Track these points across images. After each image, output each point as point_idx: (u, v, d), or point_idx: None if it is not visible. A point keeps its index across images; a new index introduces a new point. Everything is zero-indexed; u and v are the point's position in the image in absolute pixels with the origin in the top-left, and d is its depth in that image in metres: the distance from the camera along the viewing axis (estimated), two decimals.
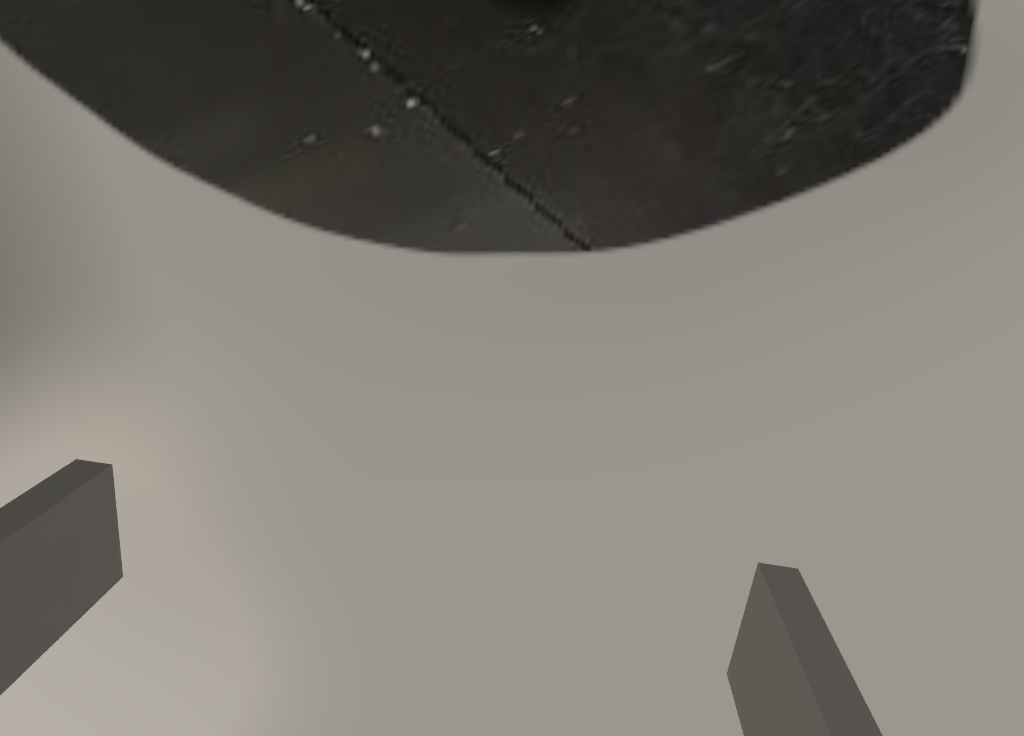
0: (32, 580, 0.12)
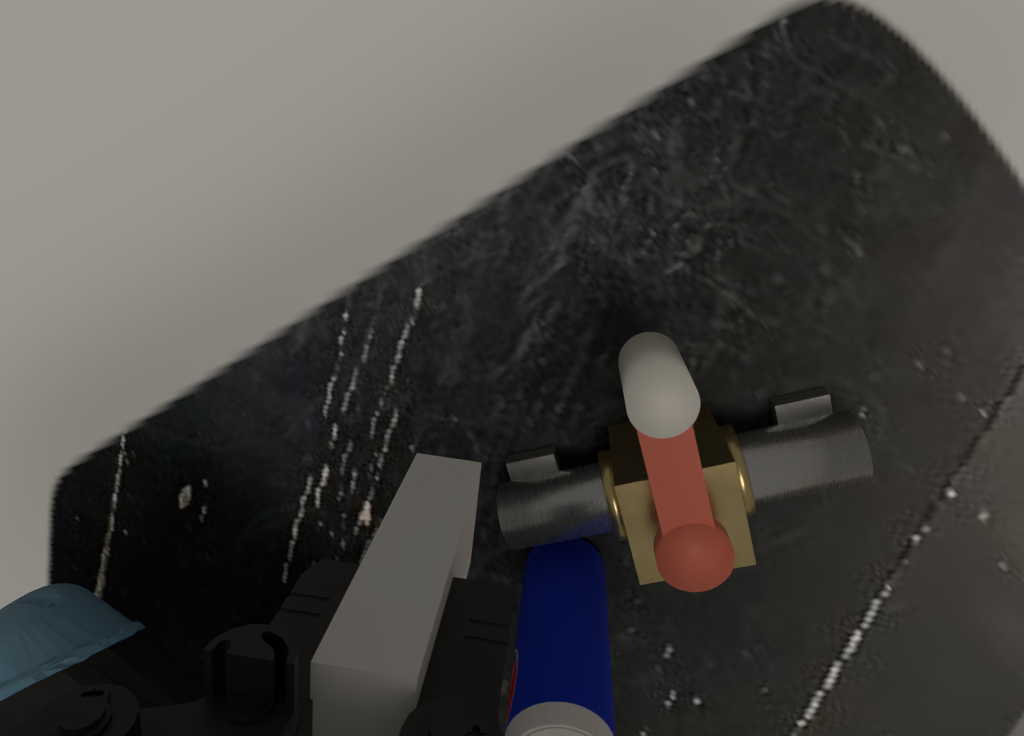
0: None
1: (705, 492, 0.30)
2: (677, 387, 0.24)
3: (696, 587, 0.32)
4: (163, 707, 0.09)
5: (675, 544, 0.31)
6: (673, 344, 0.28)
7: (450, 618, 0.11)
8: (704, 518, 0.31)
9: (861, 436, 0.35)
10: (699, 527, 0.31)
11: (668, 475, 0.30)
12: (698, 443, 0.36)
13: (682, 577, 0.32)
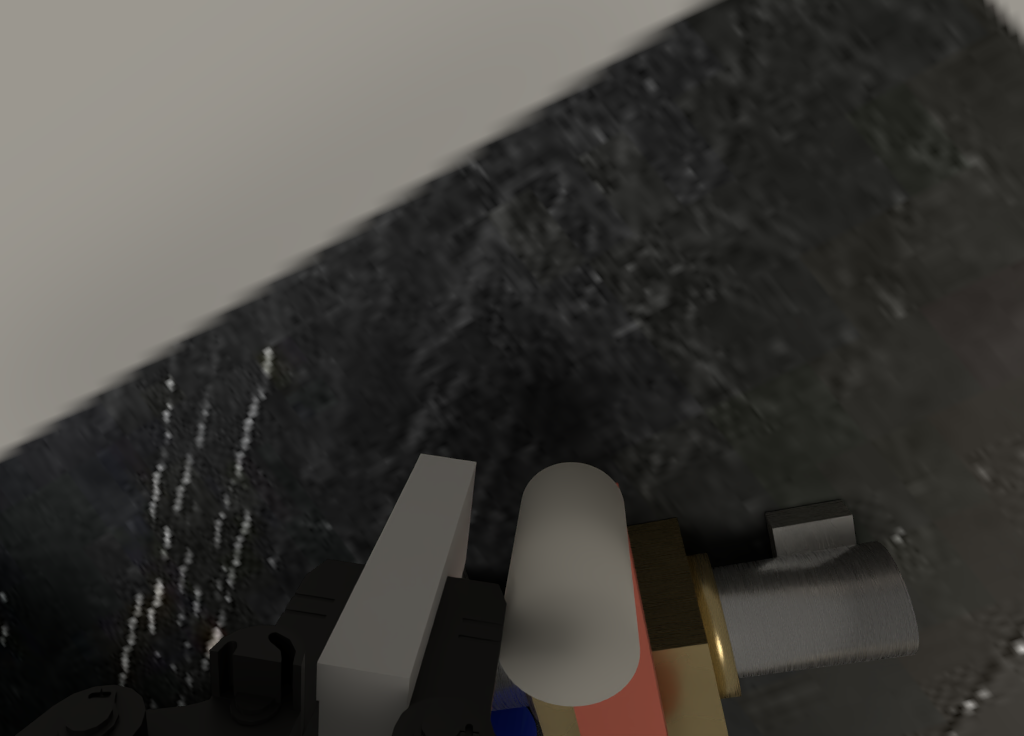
0: None
1: (659, 714, 0.19)
2: (595, 620, 0.12)
3: None
4: (170, 708, 0.09)
5: None
6: (612, 490, 0.16)
7: (444, 617, 0.11)
8: None
9: (901, 592, 0.23)
10: None
11: None
12: (656, 594, 0.24)
13: None
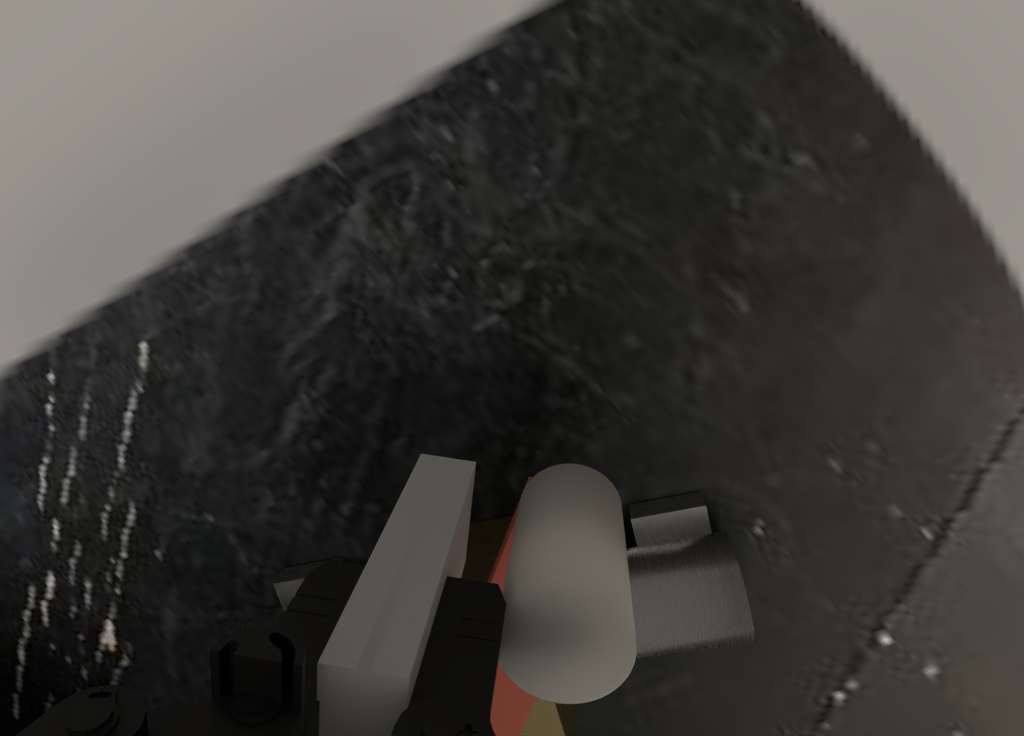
0: None
1: (524, 717, 0.19)
2: (607, 633, 0.12)
3: None
4: (170, 708, 0.09)
5: None
6: (622, 515, 0.16)
7: (443, 617, 0.11)
8: None
9: (737, 579, 0.24)
10: None
11: None
12: None
13: None
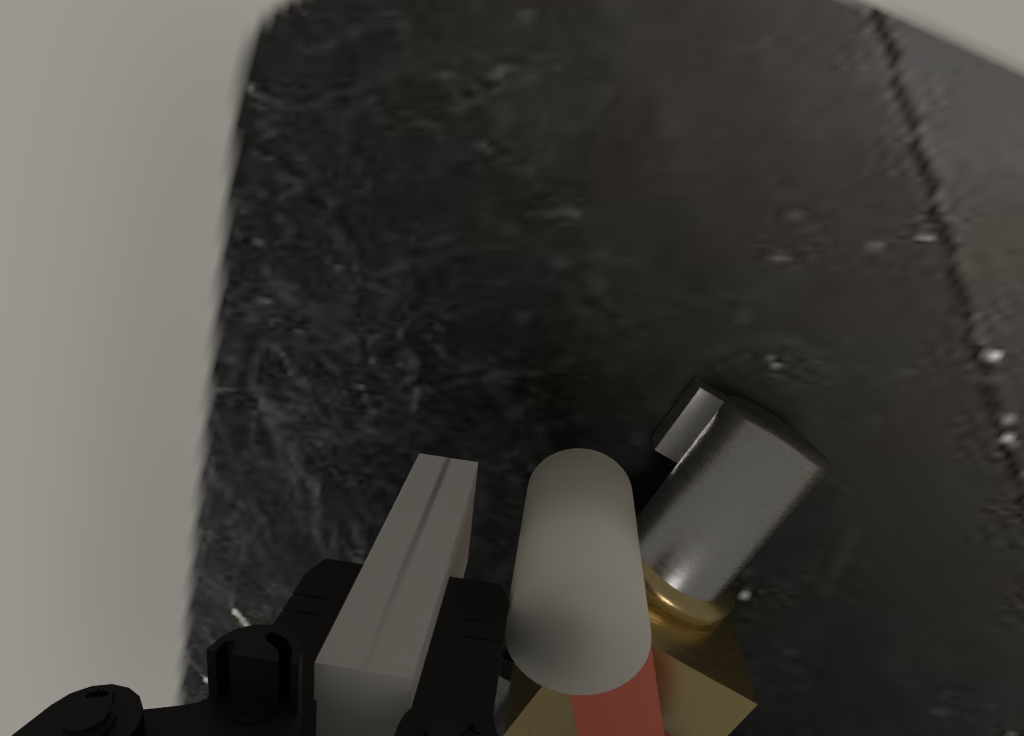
0: None
1: (656, 706, 0.18)
2: (606, 608, 0.12)
3: None
4: (167, 708, 0.09)
5: None
6: (621, 478, 0.16)
7: (446, 618, 0.11)
8: None
9: (752, 433, 0.22)
10: None
11: None
12: None
13: None
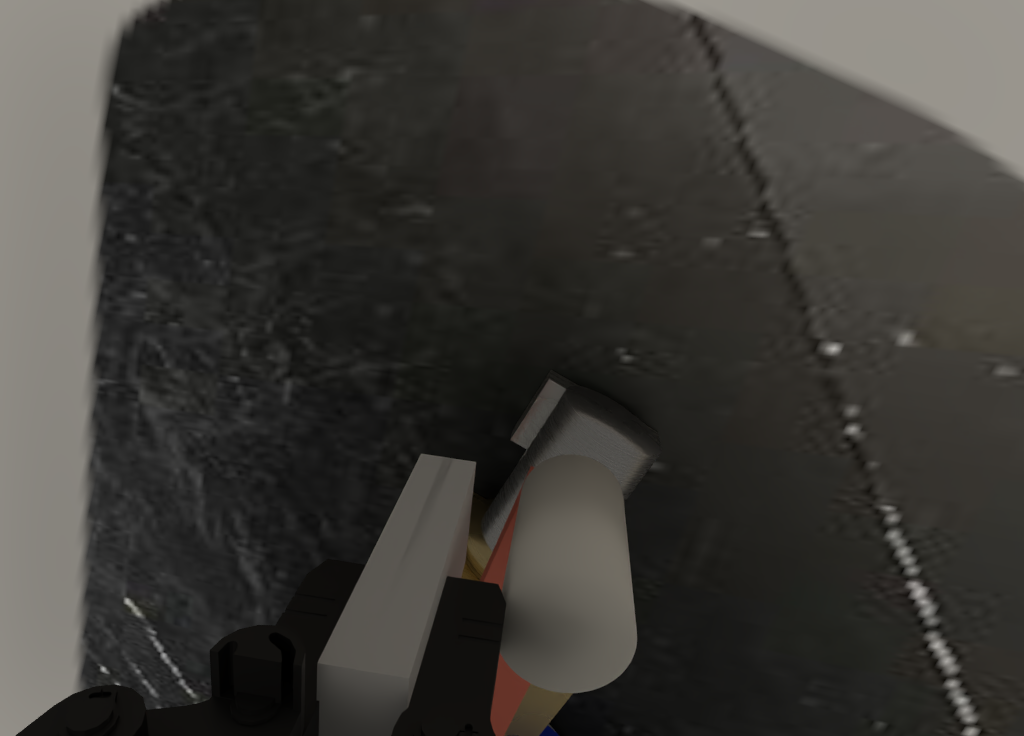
0: None
1: (516, 706, 0.19)
2: (608, 624, 0.12)
3: None
4: (170, 708, 0.09)
5: None
6: None
7: (443, 617, 0.11)
8: None
9: (578, 420, 0.22)
10: None
11: None
12: None
13: None
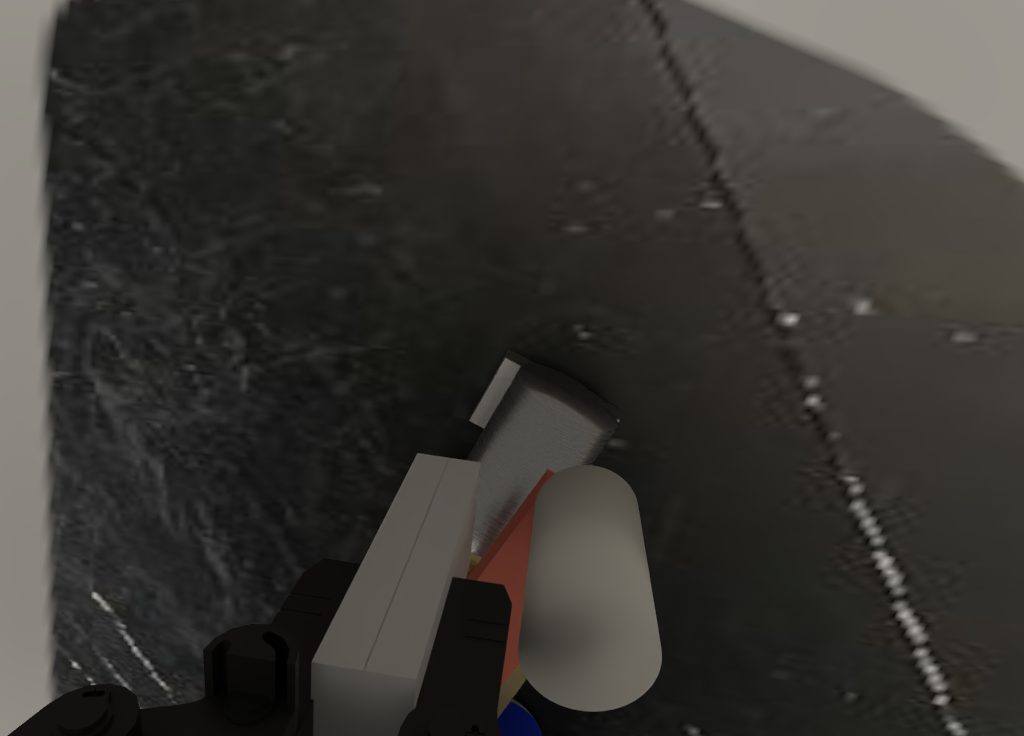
0: None
1: None
2: (635, 651, 0.12)
3: None
4: (165, 707, 0.09)
5: None
6: None
7: (449, 618, 0.11)
8: None
9: (530, 397, 0.22)
10: None
11: None
12: None
13: None
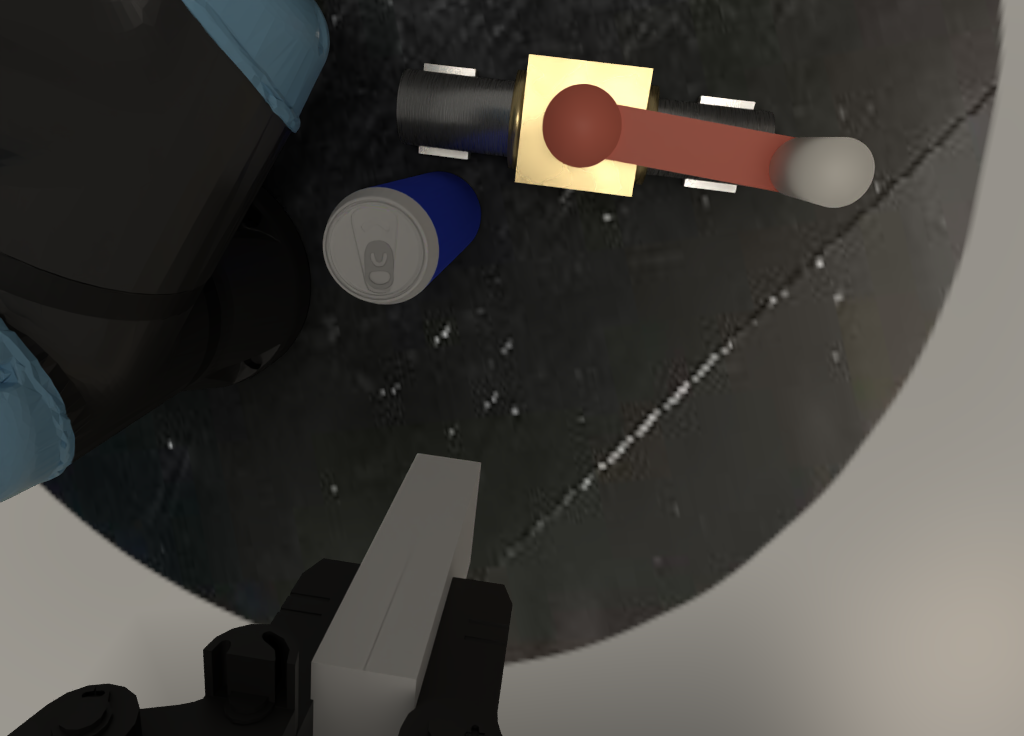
0: None
1: (646, 165, 0.31)
2: (848, 191, 0.26)
3: (549, 114, 0.31)
4: (165, 707, 0.09)
5: (607, 113, 0.30)
6: None
7: (450, 618, 0.11)
8: (619, 153, 0.31)
9: (771, 123, 0.35)
10: (615, 144, 0.31)
11: (680, 137, 0.31)
12: None
13: (567, 105, 0.30)
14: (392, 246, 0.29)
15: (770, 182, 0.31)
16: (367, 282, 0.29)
